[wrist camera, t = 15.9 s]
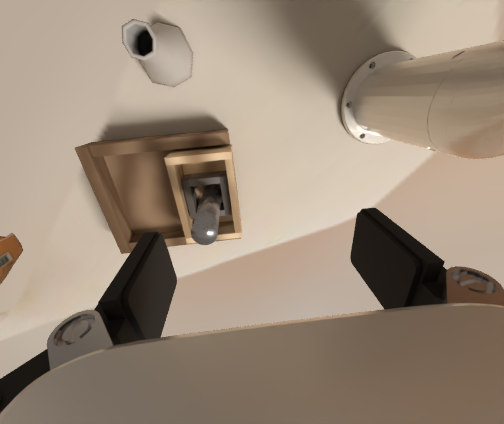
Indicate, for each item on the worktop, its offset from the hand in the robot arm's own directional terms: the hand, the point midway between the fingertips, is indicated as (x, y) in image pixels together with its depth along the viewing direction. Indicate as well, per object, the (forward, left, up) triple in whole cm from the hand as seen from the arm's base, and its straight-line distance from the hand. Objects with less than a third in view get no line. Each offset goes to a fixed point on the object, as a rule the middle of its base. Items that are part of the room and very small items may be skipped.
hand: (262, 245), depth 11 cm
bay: (+12, +7, -28) cm, 32 cm away
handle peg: (+6, +7, -26) cm, 28 cm away
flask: (+9, -12, -29) cm, 32 cm away
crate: (+6, +7, -27) cm, 28 cm away
